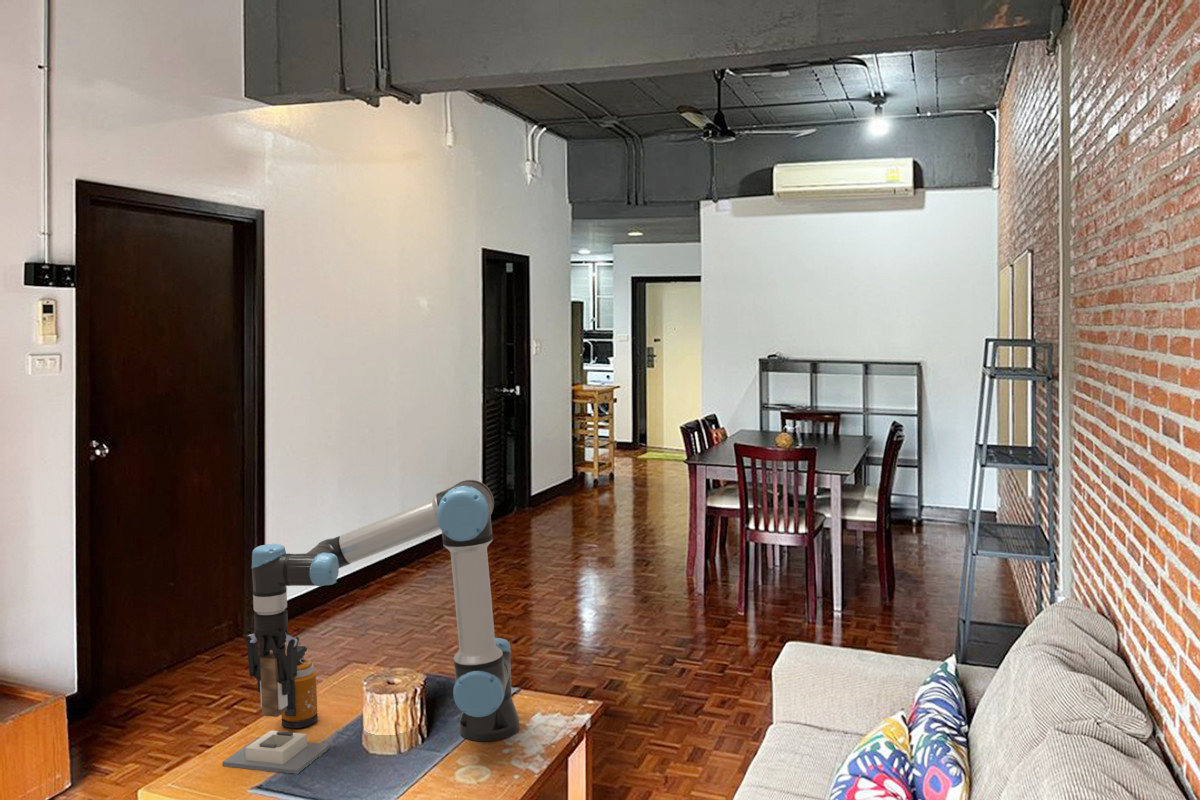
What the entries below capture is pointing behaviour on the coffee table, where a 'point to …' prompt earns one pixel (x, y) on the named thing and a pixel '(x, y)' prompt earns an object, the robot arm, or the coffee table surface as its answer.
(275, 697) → the wooden block
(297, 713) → the canister
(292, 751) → the grey plate
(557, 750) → the coffee table surface
